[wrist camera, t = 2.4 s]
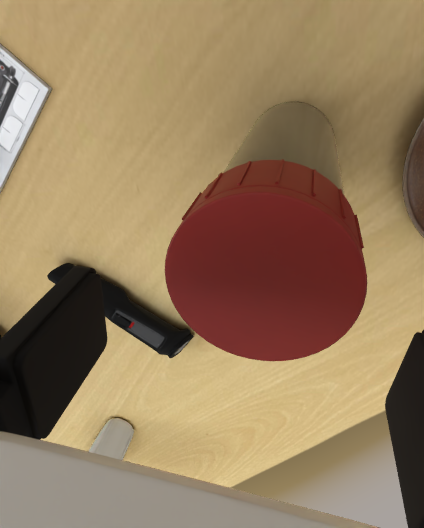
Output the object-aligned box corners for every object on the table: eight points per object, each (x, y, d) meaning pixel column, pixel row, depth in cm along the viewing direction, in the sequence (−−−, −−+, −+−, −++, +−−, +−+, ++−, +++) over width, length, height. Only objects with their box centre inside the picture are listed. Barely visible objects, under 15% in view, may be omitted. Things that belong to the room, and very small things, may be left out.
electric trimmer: (70, 247, 39) (52, 263, 36) (197, 331, 41) (189, 352, 38) (59, 271, 41) (41, 288, 38) (180, 350, 43) (171, 371, 40)
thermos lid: (251, 118, 14) (234, 142, 11) (400, 232, 15) (420, 282, 12) (160, 248, 18) (130, 291, 15) (283, 333, 19) (277, 389, 16)
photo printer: (116, 459, 58) (72, 553, 47) (90, 445, 57) (41, 537, 47) (140, 426, 52) (96, 525, 42) (111, 411, 52) (60, 507, 41)
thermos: (284, 81, 27) (242, 152, 12) (354, 138, 28) (399, 270, 13) (231, 155, 30) (148, 281, 15) (296, 203, 31) (276, 368, 16)
